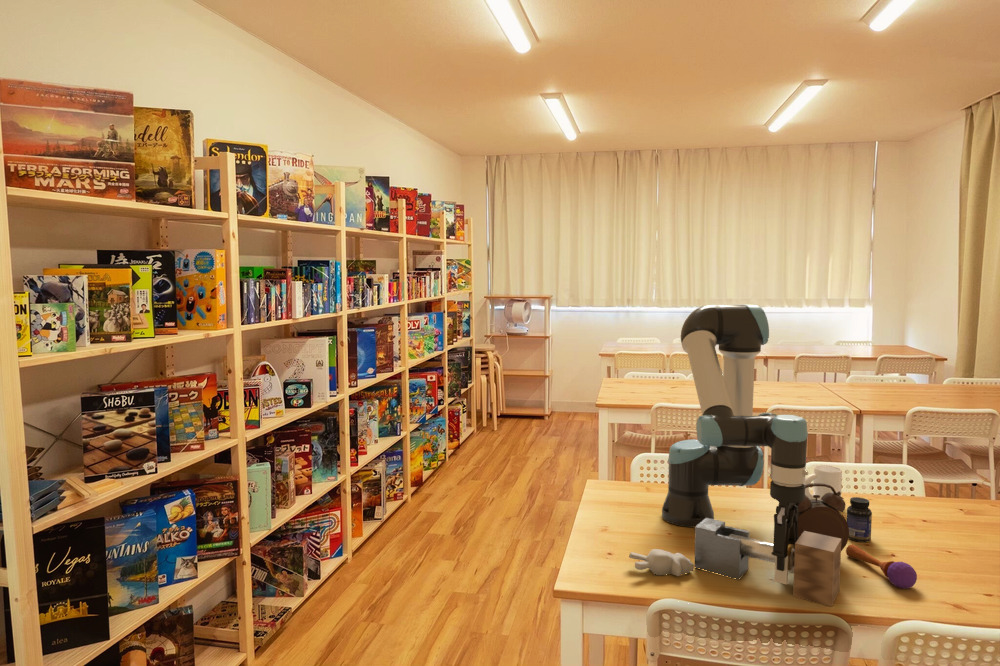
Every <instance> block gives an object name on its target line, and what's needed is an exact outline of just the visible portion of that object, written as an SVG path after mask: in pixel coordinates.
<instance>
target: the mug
mask: <svg viewBox="0 0 1000 666" xmlns="http://www.w3.org/2000/svg"><path fill="white" fill-rule="evenodd" d="M842 481H843V469H841V468H840V467H838V466H834V465H830V464H829V465H828V464H819V465H817V464H816V465H815V466H814V467H813V473H812V474H808V475H807V476H805V483H803V484H804V485H807V484H812V482H813V483H821V484H827V485H830V486H832V487H833V488H834V490H835V491H836V493H837V492H839V491H840V492H841V493H842V485H843V484H842V483H843V482H842ZM826 493H833V491H832V490H831V488H828V487H823V486H812V492H811V491H810V487H808V488H805V495H806V496H807V497H808V498H809V499H816V498H814V497H813V495H820V498H817V500H821V498H822V496H823V495H824V494H826ZM840 496H841V497H842V494H841V495H840ZM821 501H822V500H821Z"/></svg>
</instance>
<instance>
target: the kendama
mask: <svg viewBox="0 0 1000 666" xmlns="http://www.w3.org/2000/svg"><path fill="white" fill-rule="evenodd" d="M845 554H846V555H847V556H848V557H849V558H852V559H855V560H858V561H862V562H864V563H868V564H870V565H874V566H877V567H879V568H880V570H881V571H882V573H883V575H884V576H885V577H886V578H887V579H888V581H889V582H890V583H892V585H893V586H895V587H896V588H900V589H903V590H904V589H910V588H913V586H915V584H916V583H917V579H918V576H917V575H918V574H917V571H916V570H915V569H914V567H913V566H912V565H911V564H909V563H906V562H904V561H893V560H892V561H884V562H883V561H880V560H878V559H876V558H875V557H873V556H872V555H870V554H869V553H868V552H866V551H864V550H863V549H862V548H860V547H858V546H857V545H855V544H849V545H848V546H847V547H846V549H845Z"/></svg>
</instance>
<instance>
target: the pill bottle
mask: <svg viewBox="0 0 1000 666" xmlns="http://www.w3.org/2000/svg"><path fill="white" fill-rule="evenodd" d="M849 503H850V505H849V506H847V508H846V521H847V523H848V527H849V539H848V540H852V541H853V542H860V543H868V542H870V541H871V540H872V521H873V519H872V518H873V512H872V510H871V509H870V508H869V507H870V500H869V499H867V498H864V497H860V496H856V497H855V496H852V497H850V499H849Z"/></svg>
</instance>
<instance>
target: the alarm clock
mask: <svg viewBox="0 0 1000 666" xmlns="http://www.w3.org/2000/svg"><path fill="white" fill-rule="evenodd" d="M813 486H823V487H828V488H831V490H832V491H833V493H826V494H824V495H823V496H822V498H821V500H822V501H821V500H817V498H820V495H813V497H814V498H816V499H809V498H808V497H807V496H806V495H805V499H804V501H802V502H799V509H798V539H799V537H800V536H801V535H802V533H803V532H804V531H807V532H812V533H817V534H822V535H826V536H831V537H836V538H841V552H842V551H843V550H844V549H845V547H846V545H847V544H848V541H849V540H850V539H849V527H848V523H847V518H845V517H844V515H843V513H844V511H845V510H846V506H847V505H846V504H847V503H846V501H845V500H844V499H845V498H844V497H843V496H842V491H841V492H840V491H839V492H837V493H836V491H835V490H834V488H833V487H832V486H830V485H827V484H821V483H812V482H811V483H810V484H807V485H805V488H808V487H809V488H811V487H812V488H813ZM840 495H841V496H840ZM796 541H797V540H796ZM794 546H795V545H794Z"/></svg>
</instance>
